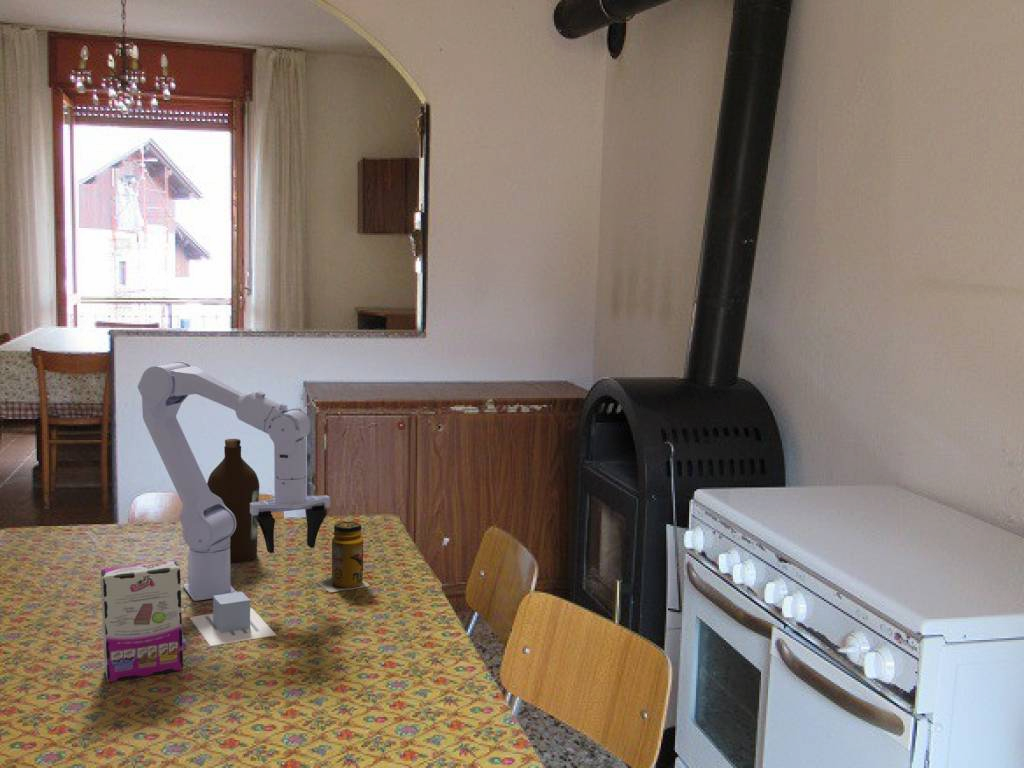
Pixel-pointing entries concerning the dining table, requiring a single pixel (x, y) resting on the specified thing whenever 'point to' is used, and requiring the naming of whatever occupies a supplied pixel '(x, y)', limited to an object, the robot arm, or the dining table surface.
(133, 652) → the candy bar box
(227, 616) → the cube
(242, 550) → the olive oil
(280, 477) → the robot arm
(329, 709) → the dining table surface
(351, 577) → the condiment
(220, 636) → the letter
